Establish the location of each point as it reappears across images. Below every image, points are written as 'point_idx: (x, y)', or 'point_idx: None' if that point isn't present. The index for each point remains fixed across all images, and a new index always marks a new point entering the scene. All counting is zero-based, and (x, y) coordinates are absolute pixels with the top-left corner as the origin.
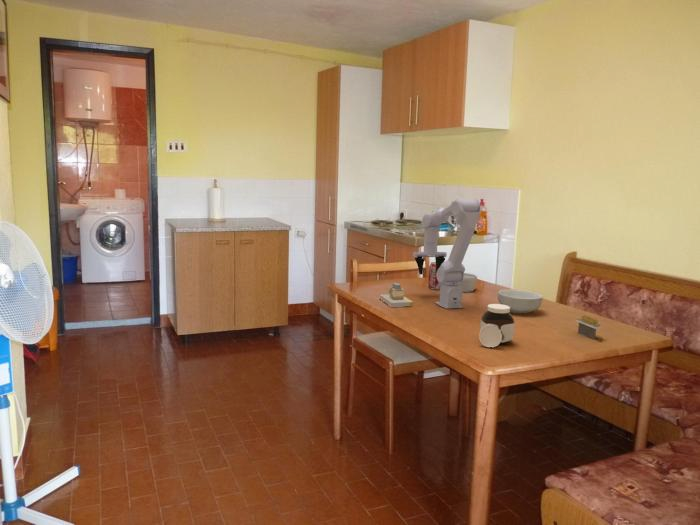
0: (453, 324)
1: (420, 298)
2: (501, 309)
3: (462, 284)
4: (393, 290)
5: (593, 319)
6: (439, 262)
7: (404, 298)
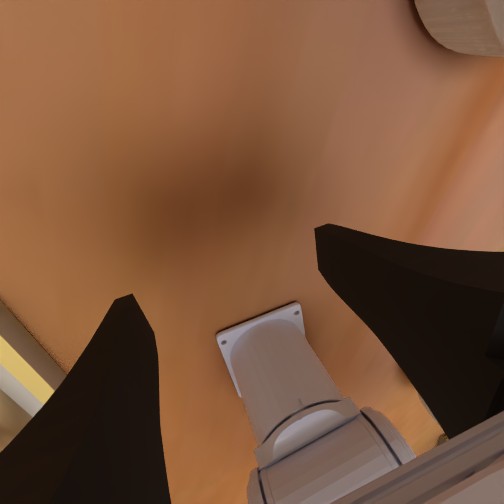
0: (227, 496)
1: (141, 258)
2: None
3: (488, 52)
4: None
5: None
6: (414, 381)
7: (39, 400)
